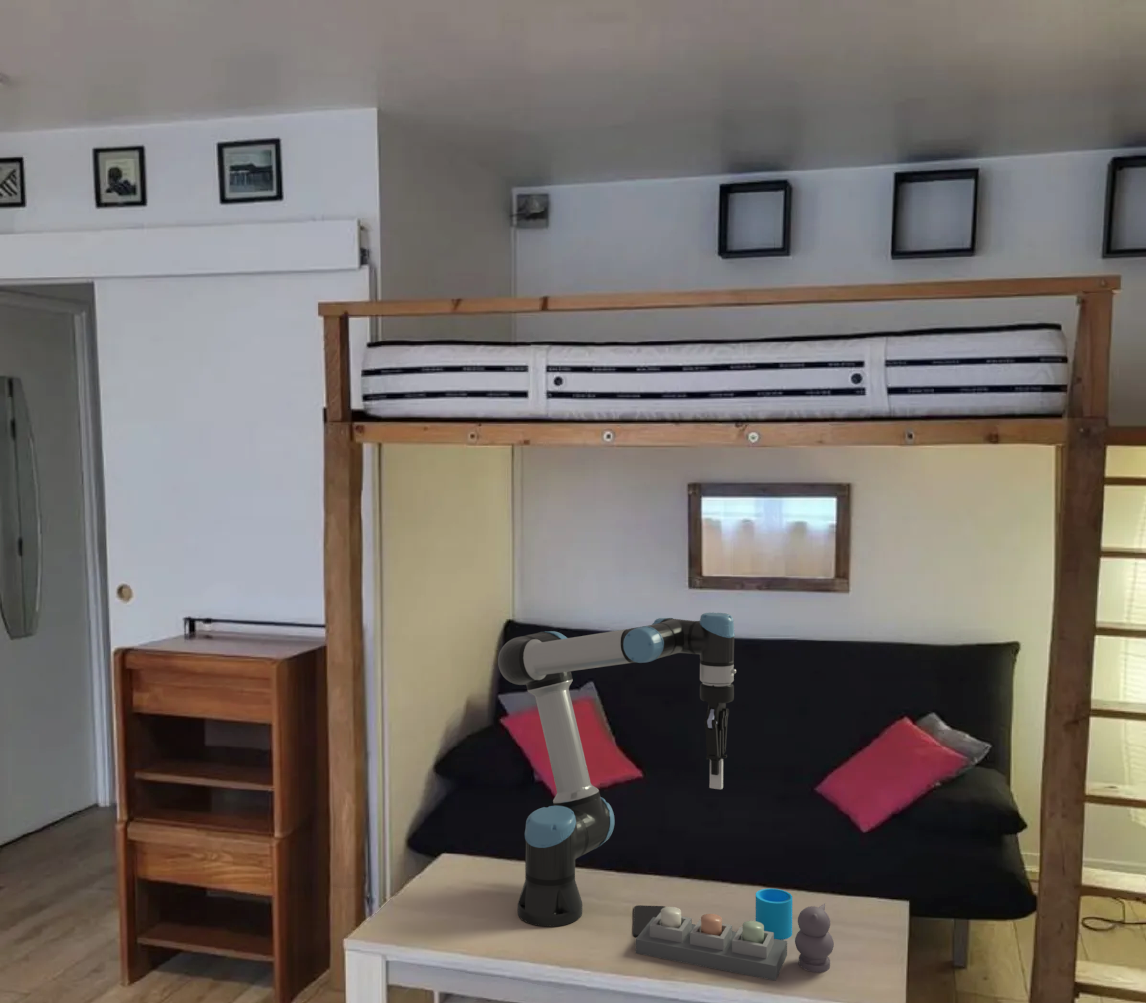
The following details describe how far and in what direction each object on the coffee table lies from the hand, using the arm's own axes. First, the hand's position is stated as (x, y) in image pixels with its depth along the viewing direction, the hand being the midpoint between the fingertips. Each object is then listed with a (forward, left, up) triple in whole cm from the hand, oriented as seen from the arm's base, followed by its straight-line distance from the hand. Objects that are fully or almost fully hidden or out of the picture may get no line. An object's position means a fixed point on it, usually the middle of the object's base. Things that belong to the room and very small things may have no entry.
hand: (716, 787), depth 224 cm
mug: (+12, +7, -33) cm, 36 cm away
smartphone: (-15, -1, -33) cm, 36 cm away
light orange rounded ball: (+2, -11, -29) cm, 31 cm away
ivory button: (-7, -11, -29) cm, 32 cm away
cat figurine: (+23, -7, -33) cm, 41 cm away
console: (+2, -11, -32) cm, 34 cm away
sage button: (+11, -11, -29) cm, 33 cm away
